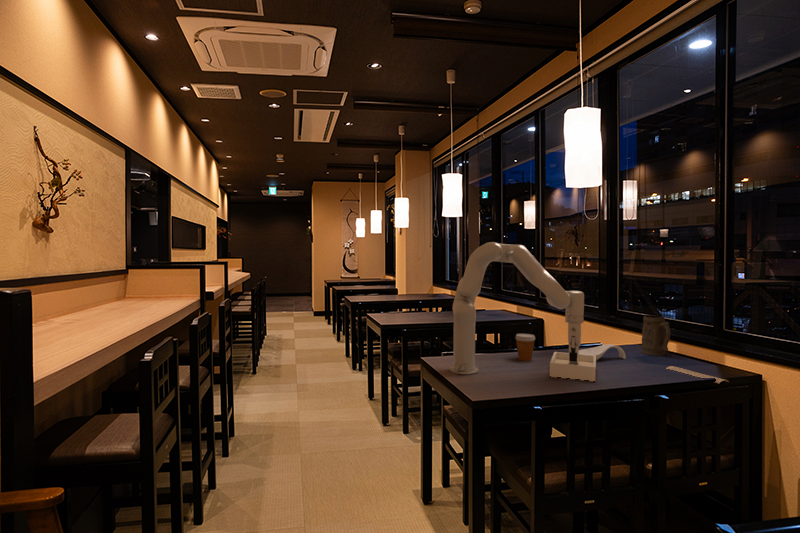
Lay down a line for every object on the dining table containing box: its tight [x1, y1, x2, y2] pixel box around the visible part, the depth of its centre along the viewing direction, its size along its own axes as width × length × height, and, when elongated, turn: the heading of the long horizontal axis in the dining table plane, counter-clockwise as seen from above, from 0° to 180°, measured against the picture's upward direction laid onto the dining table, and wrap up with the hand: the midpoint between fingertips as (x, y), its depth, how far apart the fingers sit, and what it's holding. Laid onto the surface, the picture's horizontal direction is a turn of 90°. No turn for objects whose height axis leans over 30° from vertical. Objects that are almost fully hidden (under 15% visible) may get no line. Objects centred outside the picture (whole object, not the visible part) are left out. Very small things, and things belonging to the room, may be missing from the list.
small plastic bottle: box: [568, 344, 580, 365], centre depth 203 cm, size 4×4×10 cm
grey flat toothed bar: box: [665, 365, 730, 384], centre depth 200 cm, size 24×7×2 cm, turn 23°
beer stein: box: [641, 314, 672, 357], centre depth 237 cm, size 15×11×20 cm
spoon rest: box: [579, 343, 627, 361], centre depth 228 cm, size 24×12×7 cm, turn 98°
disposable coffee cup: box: [515, 333, 536, 362], centre depth 226 cm, size 10×10×12 cm
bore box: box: [549, 351, 597, 382], centre depth 203 cm, size 22×18×6 cm
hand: (573, 359), depth 203 cm, fingers closed on small plastic bottle, 4 cm apart
